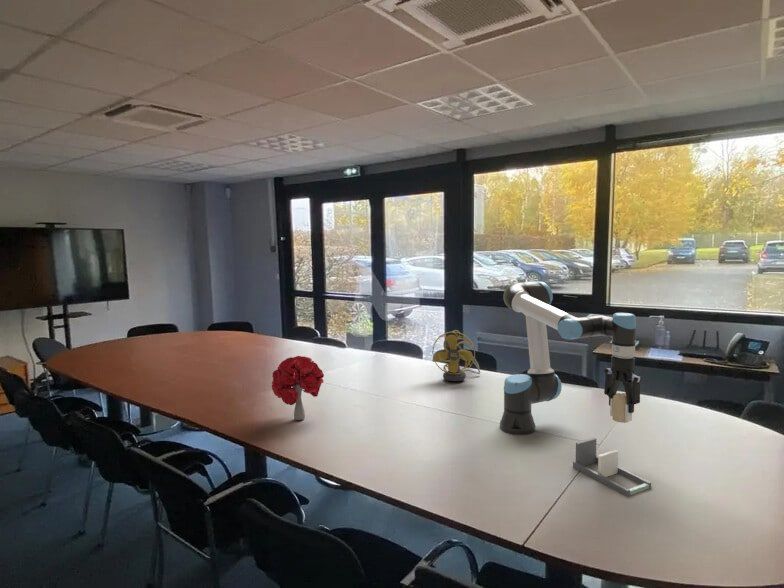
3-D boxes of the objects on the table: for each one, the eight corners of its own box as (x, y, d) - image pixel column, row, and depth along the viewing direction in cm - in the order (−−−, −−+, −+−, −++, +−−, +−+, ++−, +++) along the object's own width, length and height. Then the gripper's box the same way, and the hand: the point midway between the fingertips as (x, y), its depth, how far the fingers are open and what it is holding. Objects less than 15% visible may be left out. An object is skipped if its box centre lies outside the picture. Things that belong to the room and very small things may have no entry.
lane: (572, 467, 164) (573, 443, 163) (595, 460, 168) (596, 436, 167) (627, 496, 144) (628, 469, 143) (651, 488, 149) (652, 461, 148)
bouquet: (299, 430, 202) (296, 365, 198) (263, 420, 214) (260, 358, 211) (331, 415, 220) (329, 354, 216) (296, 406, 232) (293, 349, 229)
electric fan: (431, 380, 272) (430, 331, 268) (443, 366, 302) (442, 322, 298) (474, 384, 263) (474, 333, 260) (482, 369, 293) (482, 323, 290)
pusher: (597, 477, 156) (598, 455, 155) (614, 471, 159) (615, 449, 158) (600, 478, 155) (601, 456, 154) (617, 473, 158) (618, 451, 157)
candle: (623, 416, 169) (624, 390, 168) (632, 422, 163) (633, 395, 162) (609, 417, 169) (610, 391, 167) (617, 423, 163) (618, 396, 162)
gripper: (594, 351, 170) (592, 411, 173) (639, 363, 153) (636, 428, 156) (608, 349, 173) (606, 408, 176) (654, 360, 156) (651, 424, 159)
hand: (620, 417), depth 166 cm, fingers closed on candle, 5 cm apart
